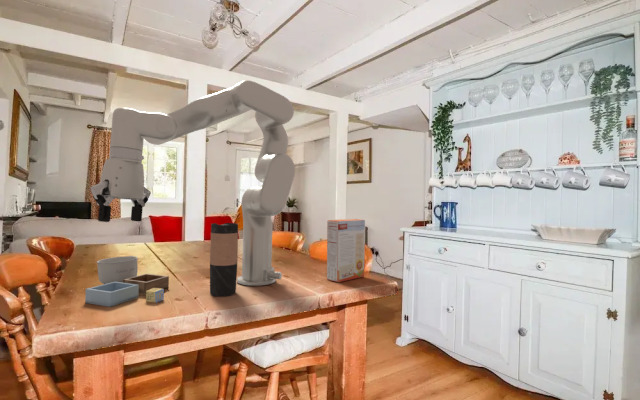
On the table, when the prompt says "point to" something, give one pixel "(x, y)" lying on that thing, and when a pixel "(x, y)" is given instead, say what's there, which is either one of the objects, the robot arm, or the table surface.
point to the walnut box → (148, 282)
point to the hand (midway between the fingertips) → (120, 221)
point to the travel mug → (223, 259)
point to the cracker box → (345, 249)
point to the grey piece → (117, 269)
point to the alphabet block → (154, 295)
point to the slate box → (111, 293)
